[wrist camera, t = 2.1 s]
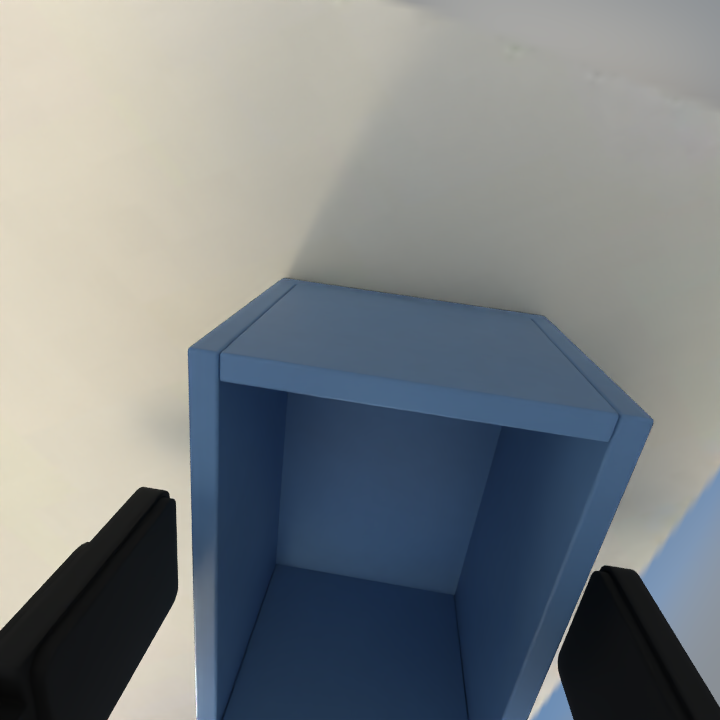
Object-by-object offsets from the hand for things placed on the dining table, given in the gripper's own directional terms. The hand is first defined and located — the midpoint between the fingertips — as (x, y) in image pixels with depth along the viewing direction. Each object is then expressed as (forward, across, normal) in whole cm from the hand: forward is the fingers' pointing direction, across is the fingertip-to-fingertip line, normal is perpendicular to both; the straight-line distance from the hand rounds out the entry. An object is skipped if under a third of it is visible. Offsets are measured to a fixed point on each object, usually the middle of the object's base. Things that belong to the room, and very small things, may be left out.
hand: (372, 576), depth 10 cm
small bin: (+4, 0, 0) cm, 4 cm away
